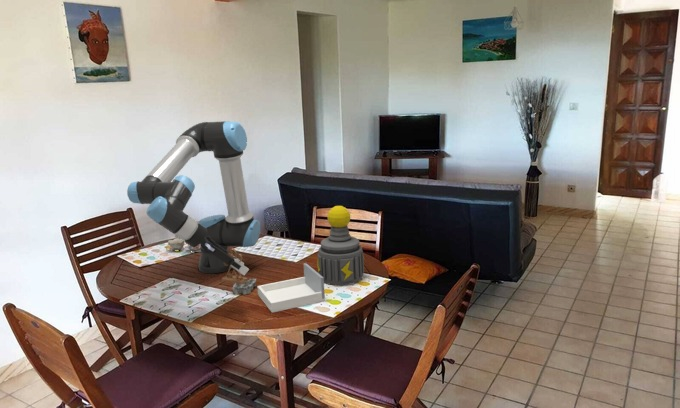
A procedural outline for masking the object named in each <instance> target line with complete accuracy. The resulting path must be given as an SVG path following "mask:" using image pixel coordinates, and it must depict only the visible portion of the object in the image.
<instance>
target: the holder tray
mask: <svg viewBox="0 0 680 408" xmlns="http://www.w3.org/2000/svg"><path fill="white" fill-rule="evenodd" d="M256 288H257V289H256V290H257V296H258V297H259V298H260V300H261V301H262V302H263V304H264V305H265V306H266V307H267V309H268V310H269V311H270V312H271V313H277V312H282V311H285V310H290V309H291V310H292V309H295V308H299V307H304V306H309V305H313V304H317V303H321V302H325V301H326V297H325V283H324V277H322V276H321V275H320V274H319V273H318V271H316V270H315V269H314V268H313V267H311V266H310V265H309V264H307V262H305V263H303V276H302V277H301V276H300V277H297V278H291V279H286V280H281V281H276V282H271V283H265V284H262V285H260V284H259V285H256Z"/></svg>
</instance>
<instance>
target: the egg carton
mask: <svg viewBox="0 0 680 408" xmlns="http://www.w3.org/2000/svg"><path fill="white" fill-rule="evenodd" d="M256 281H257V278H248V281H246V282H245V283H243V284H237V283H233V286H232V288H231V289H232V290H233V294H234V295H240V294H242V295H244V296H245V295H248V294H251V293H252V291H253V290H254V288H255V287H257V285H256V284H257V283H256Z"/></svg>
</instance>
